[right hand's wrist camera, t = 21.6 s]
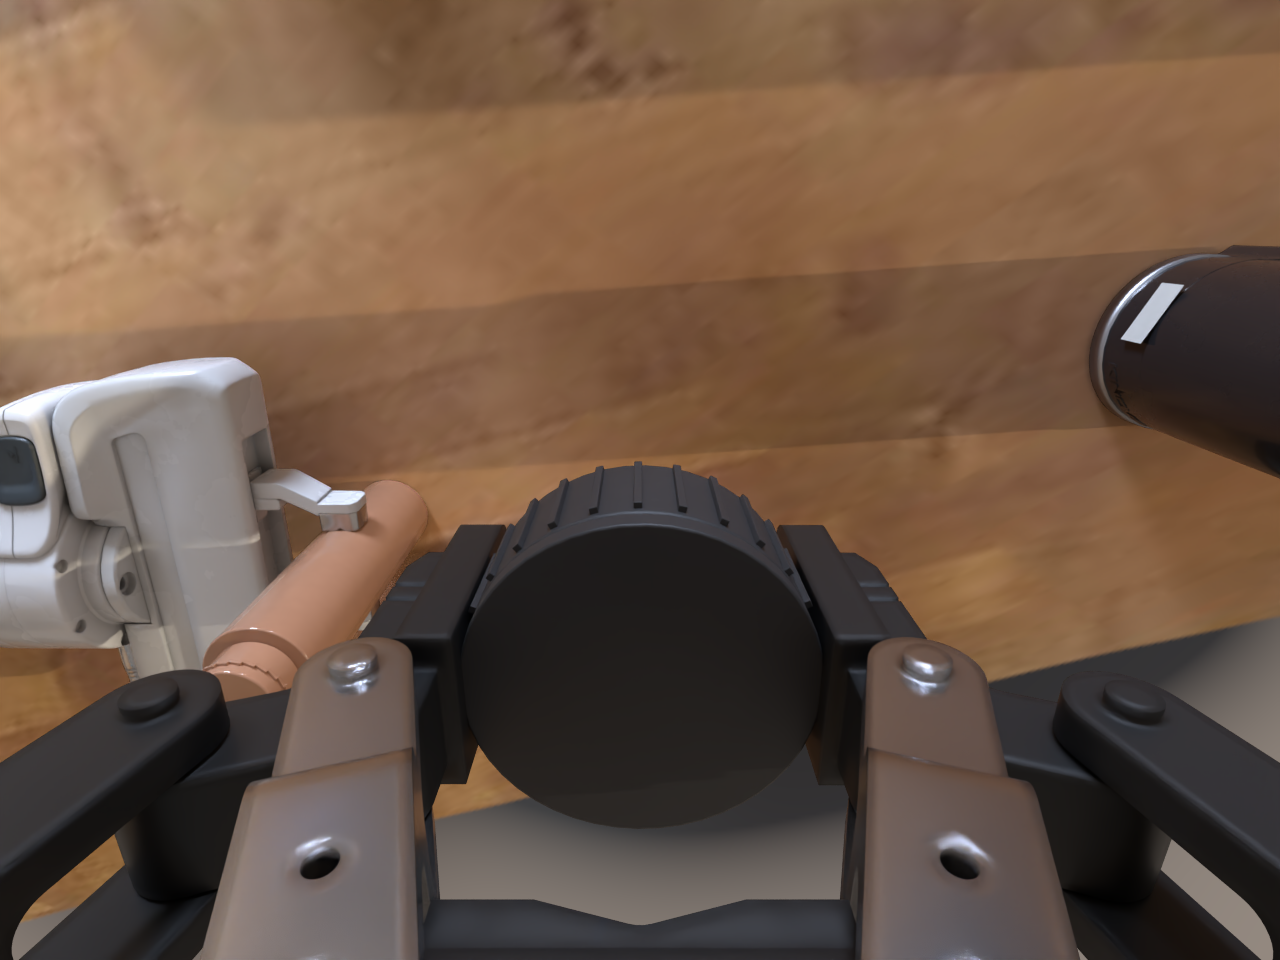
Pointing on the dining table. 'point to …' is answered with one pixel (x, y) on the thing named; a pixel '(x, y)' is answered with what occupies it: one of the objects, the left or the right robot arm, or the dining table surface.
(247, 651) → the brown capped cylinder
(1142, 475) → the dining table surface
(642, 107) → the dining table surface
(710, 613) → the lid
